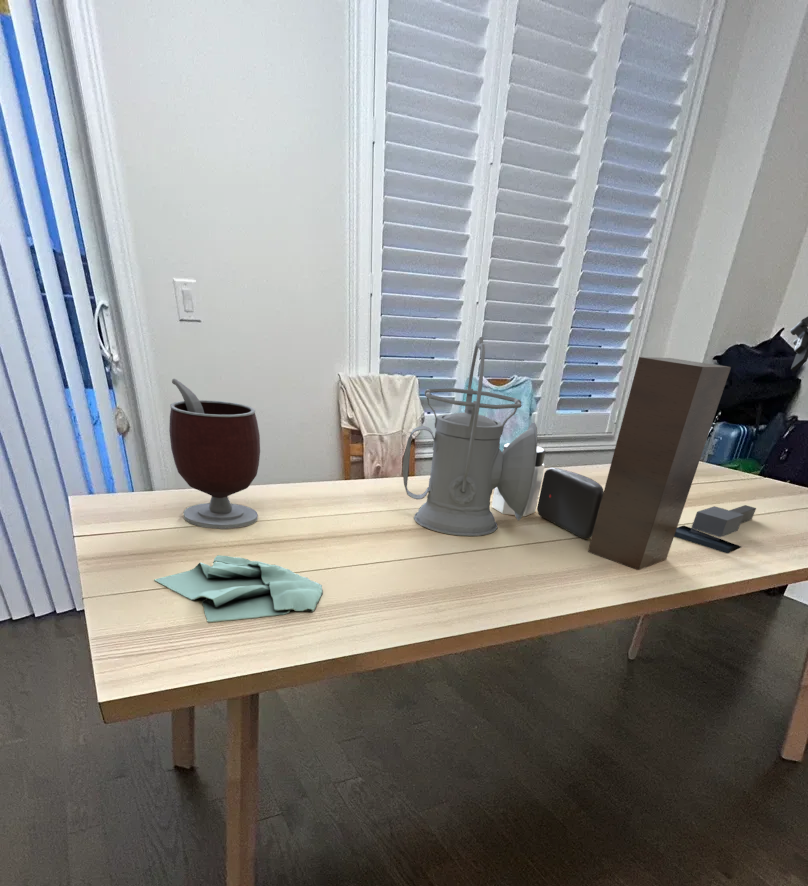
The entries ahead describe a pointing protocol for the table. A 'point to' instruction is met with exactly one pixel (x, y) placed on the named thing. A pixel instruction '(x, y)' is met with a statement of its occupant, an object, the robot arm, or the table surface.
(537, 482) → the jar
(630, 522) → the plinth
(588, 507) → the red-dotted rounded block
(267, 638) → the table surface
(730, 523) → the switch lever
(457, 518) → the lantern
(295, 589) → the cloth
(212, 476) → the mate gourd
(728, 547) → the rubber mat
